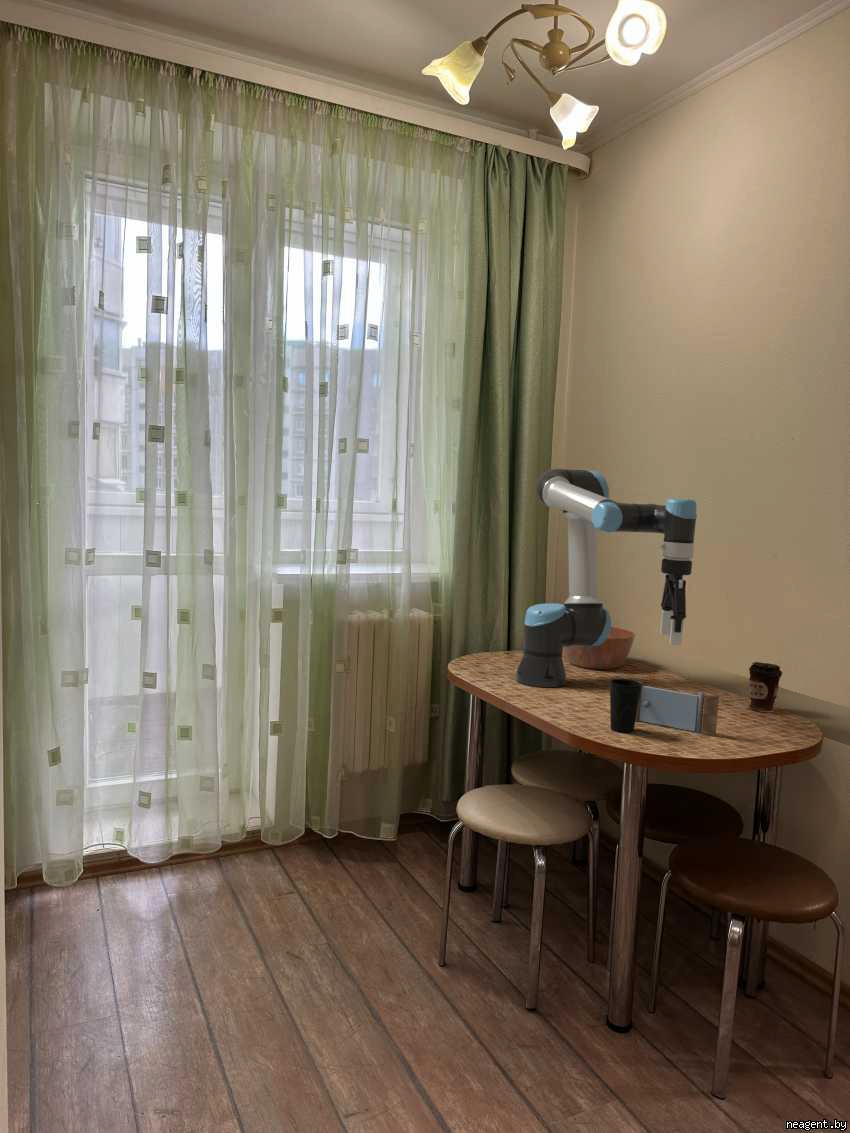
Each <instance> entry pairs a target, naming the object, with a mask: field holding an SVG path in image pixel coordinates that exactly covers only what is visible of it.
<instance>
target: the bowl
mask: <svg viewBox="0 0 850 1133" xmlns="http://www.w3.org/2000/svg"><path fill="white" fill-rule="evenodd" d="M635 637H636V634H635V633H634V632H633V631H631V630H628V629H624V628H621V627H614V626H611V629H610V633H609V636H608V638H607V639H606V640H605V641H604V643H602V644H601V645H598V646H591V647H585V646H584V647H563V649H562V652H563V654H564V656H565V658H566V659H567V661H568V662H569V663H570V664H571V665H573V666H576V667H579V668H583V669H589V670H605V671H606V670H615V669H617V668H619V667H621V666H622V665H623V664H624V663H625V661H626V660H627V658H628V657H629V654H630V652H631V649H632V646H633V643H634V640H635Z"/></svg>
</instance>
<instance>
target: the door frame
mask: <svg viewBox="0 0 850 1133" xmlns="http://www.w3.org/2000/svg"><path fill="white" fill-rule="evenodd" d="M636 681H637V682H640V683H641V684H642V686H644V685H643V681H639V680H636ZM641 695H642V687H641V692H640V698H639V703H638V709H637V715H636V720H635V722H640V721H639V719H640V707H641ZM719 701H720V695H719V694H714V693H708V692H707V693H705V696H704V707H703V719H702V730H701V733H700V734H701V735H705V736H710V737H715V736H716V734H717V725H718V724H717V722H718V713H719V703H720V702H719Z"/></svg>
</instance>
